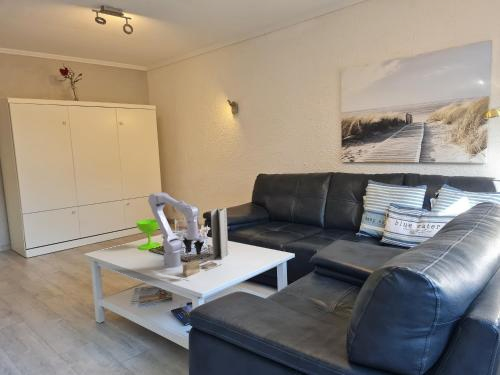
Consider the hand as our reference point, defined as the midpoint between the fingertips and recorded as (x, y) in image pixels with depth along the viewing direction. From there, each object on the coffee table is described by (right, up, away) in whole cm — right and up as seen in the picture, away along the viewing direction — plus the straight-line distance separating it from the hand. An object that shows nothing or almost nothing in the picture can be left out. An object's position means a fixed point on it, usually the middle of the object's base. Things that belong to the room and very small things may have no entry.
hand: (193, 253), depth 199 cm
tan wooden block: (0, -11, -6) cm, 12 cm away
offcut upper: (+8, -8, +5) cm, 13 cm away
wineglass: (-39, -6, +56) cm, 68 cm away
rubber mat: (0, -11, -6) cm, 13 cm away
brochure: (+13, -8, +25) cm, 29 cm away
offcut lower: (+8, -9, +5) cm, 13 cm away
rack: (+6, -10, +7) cm, 13 cm away
